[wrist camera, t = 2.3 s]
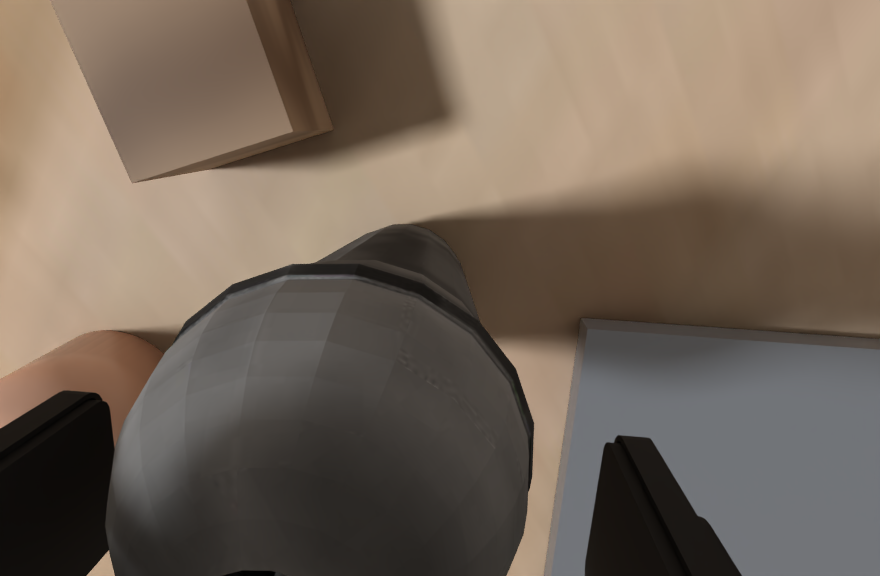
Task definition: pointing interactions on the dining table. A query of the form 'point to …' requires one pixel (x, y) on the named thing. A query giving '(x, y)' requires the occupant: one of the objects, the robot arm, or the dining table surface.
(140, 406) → the beverage cup
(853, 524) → the slate board
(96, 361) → the peach rounded capsule
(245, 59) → the walnut block
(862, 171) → the dining table surface
